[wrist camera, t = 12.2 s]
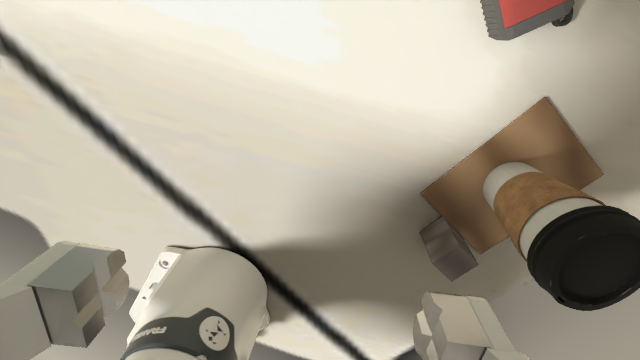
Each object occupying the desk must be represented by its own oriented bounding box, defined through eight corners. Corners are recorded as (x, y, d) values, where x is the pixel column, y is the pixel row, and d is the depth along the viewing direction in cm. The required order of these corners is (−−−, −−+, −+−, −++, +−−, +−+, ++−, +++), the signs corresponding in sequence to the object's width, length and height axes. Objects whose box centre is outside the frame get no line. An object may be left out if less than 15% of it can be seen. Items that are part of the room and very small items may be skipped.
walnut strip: (456, 267, 43) (474, 302, 37) (397, 211, 40) (407, 239, 34) (601, 173, 36) (649, 198, 31) (544, 97, 33) (585, 109, 28)
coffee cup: (455, 186, 38) (521, 273, 24) (519, 135, 35) (635, 201, 21) (499, 228, 40) (583, 331, 26) (563, 183, 37) (695, 272, 23)
